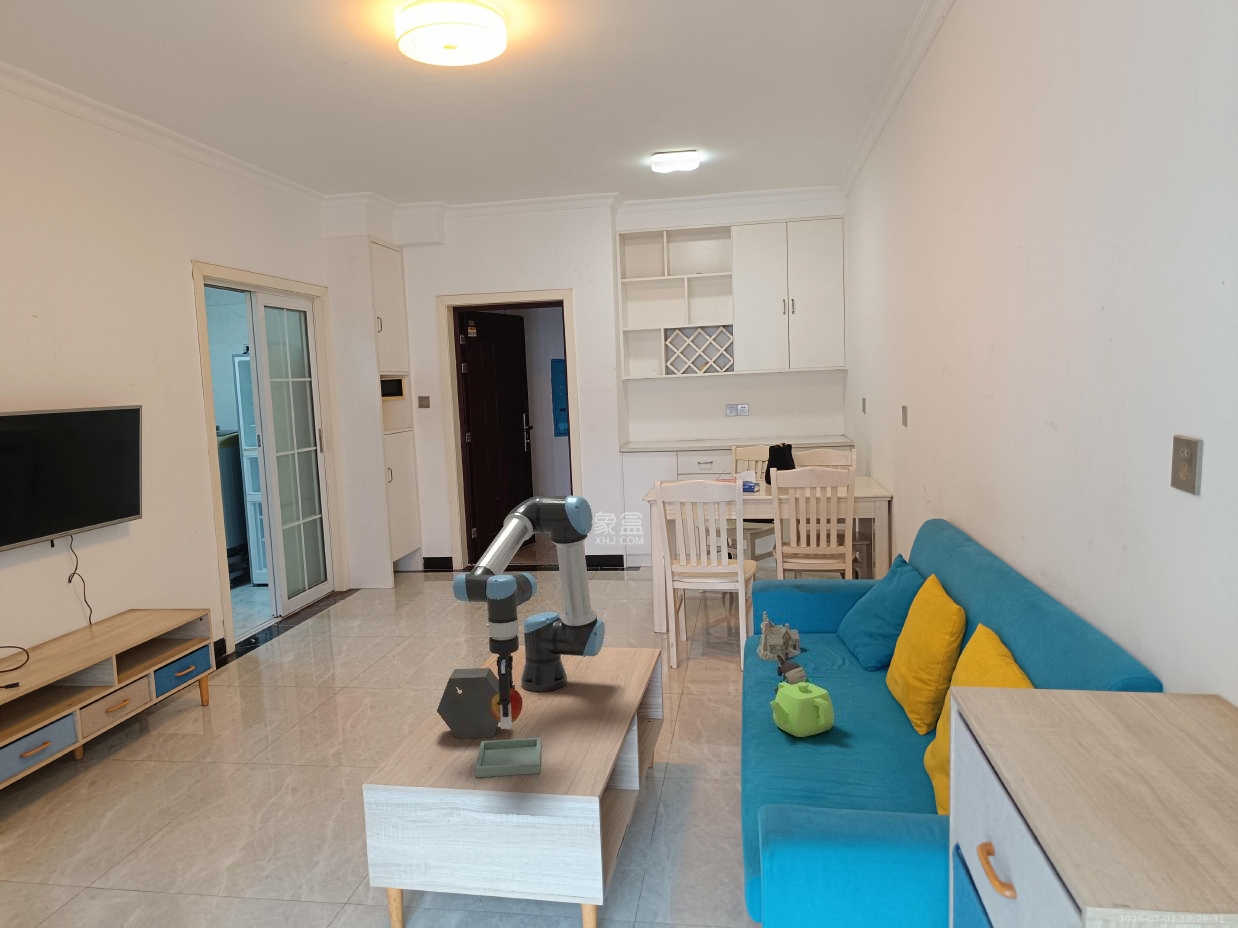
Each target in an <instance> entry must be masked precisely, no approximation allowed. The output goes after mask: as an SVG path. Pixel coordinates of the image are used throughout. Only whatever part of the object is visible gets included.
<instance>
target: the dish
mask: <svg viewBox="0 0 1238 928" xmlns="http://www.w3.org/2000/svg"><path fill="white" fill-rule="evenodd" d="M541 754H542V738H541V737H539V736H538V737H527V738H523V737H522V738H513V739H512V738H511V739H495V740H494V739H493V740H481V742H480V746H479V751H478V755H477V759H476V764H475V769H474V770H475V778H489V777H501V776H502V777H503V776H505V777H506V776H518V775H530V774H531V775H532V774H540V773H541V758H542V755H541Z"/></svg>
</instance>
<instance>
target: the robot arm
mask: <svg viewBox="0 0 1238 928" xmlns="http://www.w3.org/2000/svg"><path fill="white" fill-rule="evenodd" d="M593 519H594V518H593V512H592V509H591V505H590V504H589V502H588V500H587V499H586V498H585V497H582V496H578V495H577V496H576V495H572V494H571V495H536V496H533V497H529V498H528V499H526V500H524V501H522V502H521V503H519V504H518V505H516V506H515V507H514V508H513V509H511V511H510V512H509V513H508V514H507V516H506V517H505V518H504V521H503V527H502V528H501V529H500V531H499V532H498V534H496V536H495V538H494V539H493V541H492V542H491V543H490V544H489V546H488V547H487V549H486V550H485V552H484V553H483V554H482V556H481V557H480V558H479V560H478V561H477V563H476V564H475V565H474V567H473V568H472V570H471V571H470V572H469V573H467V572H464V573H459V574H457V576H455V578H454V580H453V584H452V592H453V596H454V598H455V599H456V600H457V601H461V602H469V603H487V621H488V623H486V624H485V627H486V628H487V629H488V636H489V638H488V643H489V644H488V645H489V646H488V647H489V649H488V650H489V652H490V653H492V654H495V655H498V656H497V659H496V667H497V677H498V680H499V702H497V705H500V717H501V723H500V729H501V730H506V729H507V730H508V729H512V728H513V723H512V718H511V702H510V688H513V689H515V690H516V685H515V684H514V680H513V661H514V656H513V655H512V654H513V653H515V652H517V651H518V650H519V649H520V648H519V647H520V645H519V636H518V634H519V619H518V607H519V606H521V605H523V604H524V603H526V602H528V601H529V600H531V598H533V597H534V596H535V594H536V592H537V589H538V583H537V581H536V579H535V577H534V576H533V575H532V574H530V573H528V572H520V573H516V574H515V575H511V574H503V572H504V571H505V570H506V568H507V567H508V566H509V564H510V562H511V560H512V559H513V558H514V556H515V555H516V553H517V552H518V550H520V547H522V545H523V543H524V542H525V541H527V540H529V539H530V538H531V537H532V536H533V535H534V534H535V535H536V534H540V533H541V534H549V536H550V542H551V543H553V544H554V545H556V553H557V562H558V567H559V568H558V569H559V577H560V585H561V592H562V600H563V601H562V602H563V607H564V609H563V610H564V613H562V615H561V616H560V614H559V613H558V612H556V611H546V612H545V611H544V612H540V613H536V614H532V615H530V616H529V617H527V618H526V619H525V621H524V622H523V623H524V624H523V637H524V654H525V655H524V656H525V664H524V667H523V670H522V674H521V677H520V684H521V687H522V688H523V689H525V690H527V691H531V692H551V691H555V690H558V689H561V688H563V687H565V686H566V684H567V683H568V675H567V673H566V670H565V667H564V664H563V661H562V658H561V657H562V655H563V656H573V657H575V656H576V657H583V658H586V657H595V656H597V655H599V653H600V651H601V650H602V648H603V643H604V641H605V631H606V630H605V629H606V625H605V622H604V621H603V620H601V619H598V615H597V612H596V610H594V609H593V608H592V604H591V595H590V594H591V593H590V587H589V578H588V577H589V576H588V571H587V570H588V569H587V561H586V552H585V544H584V541H586V540H587V538H588V534H589V533H590V532H591V531H592V528H593ZM504 699H506V700H504Z"/></svg>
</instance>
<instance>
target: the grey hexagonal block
mask: <svg viewBox="0 0 1238 928" xmlns="http://www.w3.org/2000/svg"><path fill="white" fill-rule="evenodd" d="M459 691H461V693H459ZM498 693H499V677H498V676H496V675H495V673H494V672H493V670H492V669H491V668H490V667H479V668H475V667H474V668H454V670H453V672H452V673H451V675H450V676H449V678H448V681H447V683H446V686H445V689H444V691H443V694H442V696H441V699H440V702H439V704H438V707H437V710H436V712H437V714H438V715H439V716H440V718H441V719H442V720H443V722H444V723H445V724H446V726H447V727H448V728H449V729H450V731H451V733H453V735H454V736H455V738H456V739H477V738H478V739H481V738H493V737H495V734H496V731H497V729H498V727H499V723H500V722H498V721H497V720H496V719H495V717H494V716H493V713H492V710H491V700H492V698H493V697H494V696H495V695H496V694H498Z"/></svg>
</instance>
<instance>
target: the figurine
mask: <svg viewBox="0 0 1238 928" xmlns="http://www.w3.org/2000/svg"><path fill="white" fill-rule="evenodd" d="M777 658H778V660H779V661H778V662H779V663H778V664H777V668H776V671H777V676H778V677H782V675H783V678H782V680H779V681H780V682H779V683H782V682H783V681H785V680H786V681H785V682H786V683H788V684H790V685H794V684H797V683H800V682H805V683H811V684H813V685H814V683H813V680H812V678H811V677H807V674H806V672H805V671H806V670H804V668H803V667H802V666H801V665H800V664H798V663H797V662H796V661H792V660H789V659H790V658H789V655H788V653H787V652H786V653H785V655H784V658H785V660H783V658H782V657H781V656H779V655H777ZM774 692H775V694H776V695H777V692H778V686H776V687H775V689H774Z"/></svg>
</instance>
